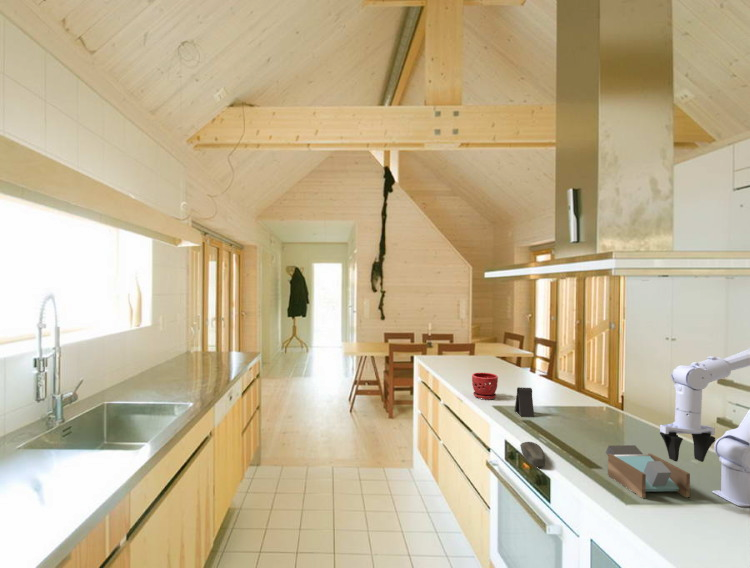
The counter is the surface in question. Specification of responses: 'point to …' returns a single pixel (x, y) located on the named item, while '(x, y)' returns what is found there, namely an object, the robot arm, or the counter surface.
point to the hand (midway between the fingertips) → (686, 460)
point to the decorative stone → (533, 453)
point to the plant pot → (484, 385)
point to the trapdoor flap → (639, 464)
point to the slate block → (657, 473)
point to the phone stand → (524, 402)
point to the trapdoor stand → (637, 479)
